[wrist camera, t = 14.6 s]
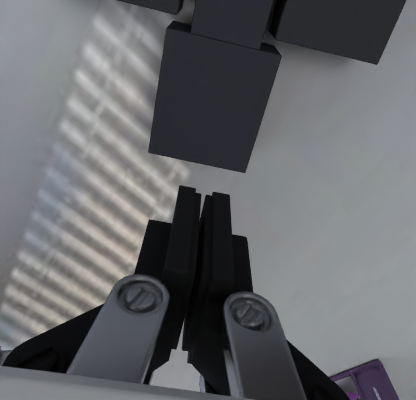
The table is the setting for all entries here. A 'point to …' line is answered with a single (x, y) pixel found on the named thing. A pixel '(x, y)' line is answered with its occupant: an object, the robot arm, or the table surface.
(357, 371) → the game card
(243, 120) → the tab pad
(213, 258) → the robot arm
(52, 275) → the table surface
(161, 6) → the black flat block
